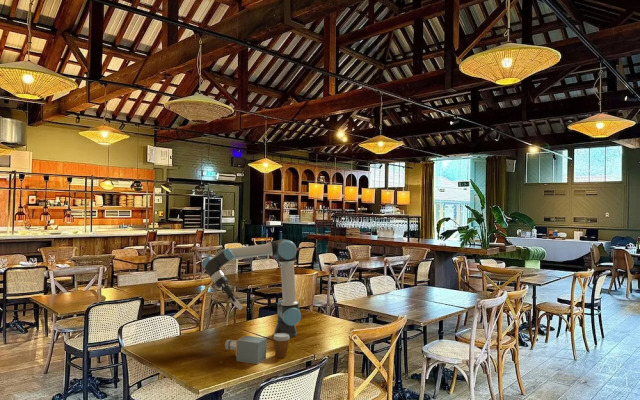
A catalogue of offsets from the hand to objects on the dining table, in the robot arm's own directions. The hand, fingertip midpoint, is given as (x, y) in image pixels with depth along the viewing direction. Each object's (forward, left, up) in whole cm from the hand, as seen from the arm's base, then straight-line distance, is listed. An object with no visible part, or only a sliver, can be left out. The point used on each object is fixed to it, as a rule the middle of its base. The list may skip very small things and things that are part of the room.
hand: (239, 307), depth 265 cm
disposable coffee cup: (-24, +16, -25) cm, 38 cm away
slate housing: (-7, +20, -25) cm, 33 cm away
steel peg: (+1, +17, -20) cm, 26 cm away
